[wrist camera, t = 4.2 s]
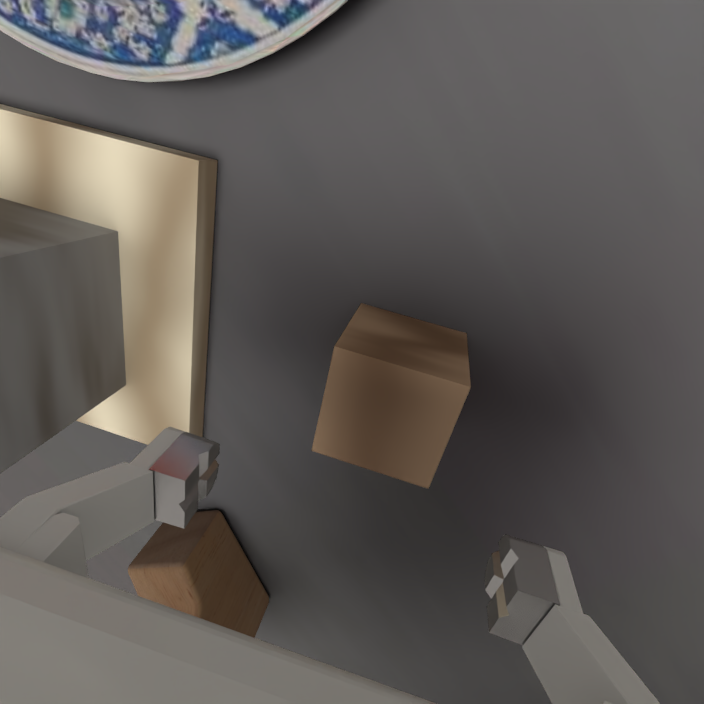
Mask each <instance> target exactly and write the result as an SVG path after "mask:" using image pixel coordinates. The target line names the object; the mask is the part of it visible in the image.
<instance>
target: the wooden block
mask: <svg viewBox="0 0 704 704" xmlns="http://www.w3.org/2000/svg"><path fill="white" fill-rule="evenodd" d="M128 573H129V576H130V578H131V580H132V582H133V585H134V587H135V589H136V592H137V594H138V596H140V597H142V598H145V599H148V600H151V601H154V602H156V603H159V604H162V605H165V606H167V607H170V608H173V609H176V610H179V611H181V612H184V613H187V614H190V615H192V616H195V617H198V618H201V619H204V620H206V621H209V622H212V623H215V624H217V625H220V626H223V627H226V628H228V629H231V630H234V631H237V632H240V633H242V634H245V635H248V636H251V637H253V638H254V637H255V635H256V632H257V630H258V628H259V625H260V623H261V620H262V618H263V615H264V613H265V610H266V608H267V606H268V603H269V596H268V594H267V592H266V591H265V589H264V587H263V585H262V584H261V582H260V580H259V578H258V576H257V575H256V573H255V571H254V569H253V568H252V566H251V564H250V562H249V560H248V559H247V557H246V555H245V553H244V552H243V550H242V548H241V546H240V545H239V543H238V541H237V539H236V537H235V536H234V534H233V532H232V530H231V529H230V527H229V525H228V523H227V521H226V520H225V518H224V516H223V514H222V513H221V512H220V511H218V510H211V511H200V512H196V513H195V514H194V515H193V517H192V518H191V520H190V521H189V523H188V524H187V525H186V527H185V528H184V529H183V528H180V527H177V526H174V525H170V524H167V523H164V522H163V523H162V524H161V526H160V527H159V528H158V530H157V531H156V532H155V533H154V535H153V536H152V537H151V538H150V540H149V541H148V542H147V543H146V545H145V546H144V547H143V549H142V550H141V551H140V552H139V554H138V555H137V556H136V557H135V559H134V560H133V561H132V562H131V564H130V565H129V567H128Z"/></svg>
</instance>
